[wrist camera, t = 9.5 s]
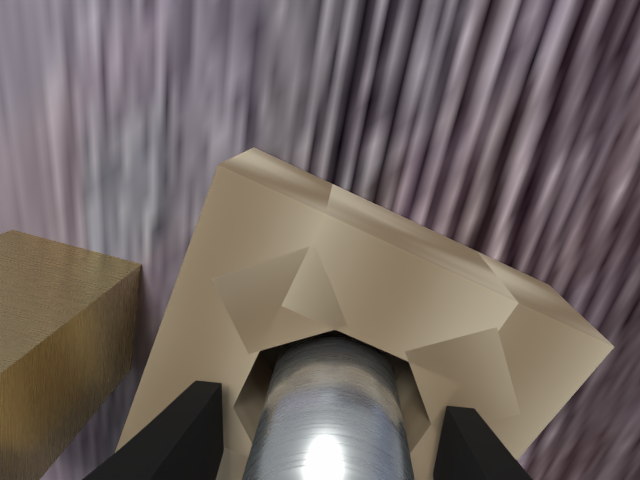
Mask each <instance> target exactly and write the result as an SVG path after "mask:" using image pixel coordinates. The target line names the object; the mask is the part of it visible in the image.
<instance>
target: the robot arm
mask: <svg viewBox="0 0 640 480" xmlns="http://www.w3.org/2000/svg"><path fill="white" fill-rule="evenodd" d="M223 452H224V442H223V410H222V383H217V382H207V381H197V380H196V381H195V382H193V383H192V384H191V385H190V386H189V387H188V388H187V389H185V390H184V391H183V392H182V393H181V394H180V395H179V396H178V397H177V398H176V399H175V400H174V401H173V402H171V403H170V404H169V405H168V406H167V407H166V408H165V409H164V410H163V411H162V412H161V413H160V414H158V415H157V416H156V417H155V418H154V419H153V420H152V421H151V422H150V423H149V424H148V425H146V426H145V427H144V428H143V429H142V430H141V431H140V432H138V433H137V434H136V435H135V436H134V437H133V438H132V439H130V440H129V441H128V442H127V443H126V444H125V445H124V446H122V447H121V448H120V449H119V450H118V451H117V452H116V453H114V454H113V455H112V456H111V457H110V458H108V459H107V460H106V461H105V462H103V463H102V464H101V465H100V466H98V467H97V468H96V469H95V470H94V471H92V472H91V473H90V474H89V475H87V476H86V477H85V478H84V479H82V480H216V477H217V473H218V470H219V466H220V463H221V459H222V456H223ZM433 480H532V478H531V477H530V476H529V475H528V474H527V473H526V471H525V470H524V469H523V468H522V467H521V465H520V464H519V463H518V462H517V460H516V459H515V458H514V457H513V456H512V454H511V453H510V452H509V451H508V449H507V448H506V447H505V446H504V444H503V443H502V442H501V441H500V439H499V438H498V437H497V436H496V434H495V433H494V432H493V431H492V429H491V428H490V427H489V426H488V425H487V423H486V422H485V421H484V420H483V418H482V417H481V416H480V415H479V413H478V412H477V411H476V410H475V409H474V408H466V407H456V406H446V411H445V416H444V421H443V426H442V431H441V436H440V441H439V446H438V451H437V456H436V461H435V466H434V471H433Z"/></svg>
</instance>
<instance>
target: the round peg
mask: <svg viewBox="0 0 640 480" xmlns="http://www.w3.org/2000/svg"><path fill="white" fill-rule="evenodd" d="M242 480H415V478H414V473H413V467H412V462H411V457H410V452H409V446H408V441H407V436H406V430H405V425H404V420H403V414H402V409H401V404H400V398H399V393H398V388H397V382H396V377H395V372H394V366H393V361H392V356H391V354H390V353H388V352H385V351H383V350H381V349H378V348H376V347H374V346H372V345H369V344H367V343H365V342H362V341H360V340H358V339H356V338H353V337H351V336H349V335H346V334H344V333H342V332H340V331H337V330H332V331H328V332H325V333H321V334H318V335H314V336H311V337H307V338H304V339H300V340H297V341H293V342H290V343H286V344H283V345H281V347H280V351H279V354H278V358H277V361H276V364H275V368H274V371H273V375H272V378H271V381H270V385H269V388H268V392H267V395H266V398H265V402H264V405H263V409H262V412H261V416H260V419H259V422H258V426H257V429H256V433H255V436H254V439H253V443H252V446H251V450H250V453H249V457H248V460H247V463H246V467H245V470H244V474H243V477H242Z"/></svg>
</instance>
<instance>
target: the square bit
mask: <svg viewBox="0 0 640 480" xmlns="http://www.w3.org/2000/svg"><path fill="white" fill-rule="evenodd" d="M141 266H142V264H139V263H135V262H131V261H128V260H124V259H120V258H116V257H113V256H109V255H105V254H101V253H98V252H94V251H90V250H86V249H83V248H79V247H75V246H71V245H68V244H64V243H60V242H56V241H53V240H49V239H45V238H41V237H37V236H34V235H30V234H26V233H22V232H19V231H15V230H11V231H8V232H6V233H3V234H0V480H40V478H41V477H42V476H43V475H44V474H45V472H46V471H47V470H48V469H49V468H50V466H51V465H52V464H53V463H54V462H55V460H56V459H57V458H58V457H59V456H60V454H61V453H62V452H63V451H64V449H65V448H66V447H67V446H68V445H69V443H70V442H71V441H72V440H73V439H74V437H75V436H76V435H77V434H78V433H79V431H80V430H81V429H82V428H83V426H84V425H85V424H86V423H87V422H88V420H89V419H90V418H91V417H92V416H93V414H94V413H95V412H96V411H97V410H98V408H99V407H100V406H101V405H102V404H103V402H104V401H105V400H106V399H107V397H108V396H109V395H110V394H111V393H112V391H113V390H114V389H115V388H116V387H117V385H118V384H119V383H120V382H121V381H122V379H123V378H124V377H125V376H126V375H127V373H128V372H129V371H130V367H131V358H132V348H133V339H134V330H135V321H136V312H137V303H138V293H139V284H140V275H141Z"/></svg>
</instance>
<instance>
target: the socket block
mask: <svg viewBox="0 0 640 480" xmlns="http://www.w3.org/2000/svg"><path fill="white" fill-rule="evenodd" d="M332 330H337V331H340V332H342V333H344V334H346V335H349V336H351V337H353V338H356V339H358V340H360V341H362V342H365V343H367V344H369V345H372V346H374V347H376V348H378V349H381V350H383V351H385V352H388V353H390V354H391V356H392V361H393V366H394V372H395V377H396V382H397V388H398V393H399V398H400V404H401V409H402V414H403V420H404V425H405V430H406V436H407V441H408V446H409V452H410V457H411V462H412V467H413V473H414V478H415V480H433V471H434V466H435V461H436V456H437V451H438V446H439V441H440V436H441V431H442V426H443V421H444V416H445V411H446V406H456V407H466V408H474V409H475V410H476V411H477V412H478V413H479V415H480V416H481V417H482V418H483V420H484V421H485V422H486V423H487V425H488V426H489V427H490V428H491V429H492V431H493V432H494V433H495V434H496V436H497V437H498V438H499V439H500V441H501V442H502V443H503V444H504V446H505V447H506V448H507V449H508V451H509V452H510V453H511V454H512V456H513V457H514V458H515V459H516V460H518V459H519V457H520V456H521V455H522V454H523V453H524V452H525V450H526V449H527V448H528V447H529V446H530V445H531V443H532V442H533V441H534V440H535V439H536V438H537V436H538V435H539V434H540V433H541V432H542V431H543V429H544V428H545V427H546V426H547V425H548V424H549V422H550V421H551V420H552V419H553V418H554V417H555V415H556V414H557V413H558V412H559V411H560V410H561V408H562V407H563V406H564V405H565V404H566V403H567V401H568V400H569V399H570V398H571V397H572V396H573V394H574V393H575V392H576V391H577V390H578V389H579V388H580V386H581V385H582V384H583V383H584V382H585V381H586V379H587V378H588V377H589V376H590V375H591V374H592V372H593V371H594V370H595V369H596V368H597V367H598V365H599V364H600V363H601V362H602V361H603V360H604V358H605V357H606V356H607V355H608V354H609V353H610V351H611V350H612V349H613V348H614V346H613V345H612V344H611V343H610V342H609V341H608V340H607V339H606V338H604V337H603V336H602V335H601V334H600V333H599V332H598V331H597V330H596V329H595V328H594V327H593V326H592V325H591V324H590V323H589V322H588V321H586V320H585V319H584V318H583V317H582V316H581V315H580V314H579V313H578V312H577V311H576V310H575V309H574V308H573V307H572V306H571V305H570V304H569V303H567V302H566V301H565V300H564V299H563V298H562V297H561V296H560V295H559V294H558V293H557V292H556V291H555V290H554V289H553V288H552V287H551V286H549V285H548V284H546V283H544V282H542V281H539V280H537V279H535V278H533V277H531V276H529V275H526V274H524V273H522V272H520V271H518V270H516V269H514V268H511V267H509V266H507V265H505V264H503V263H501V262H499V261H496V260H494V259H492V258H490V257H488V256H486V255H484V254H481V253H479V252H477V251H475V250H473V249H471V248H469V247H466V246H464V245H462V244H460V243H458V242H456V241H454V240H451V239H449V238H447V237H445V236H443V235H441V234H439V233H436V232H434V231H432V230H430V229H428V228H426V227H424V226H421V225H419V224H417V223H415V222H413V221H411V220H409V219H406V218H404V217H402V216H400V215H398V214H396V213H394V212H391V211H389V210H387V209H385V208H383V207H381V206H379V205H376V204H374V203H372V202H370V201H368V200H366V199H364V198H361V197H359V196H357V195H355V194H353V193H351V192H349V191H346V190H344V189H342V188H340V187H338V186H336V185H334V184H331V183H329V182H327V181H325V180H323V179H321V178H318V177H316V176H314V175H312V174H310V173H308V172H306V171H303V170H301V169H299V168H297V167H295V166H293V165H291V164H288V163H286V162H284V161H282V160H280V159H278V158H276V157H273V156H271V155H269V154H267V153H265V152H263V151H261V150H258V149H256V148H252V149H250V150H247V151H245V152H243V153H241V154H239V155H237V156H235V157H233V158H231V159H229V160H227V161H224V162H222V163H220V164H218V166H217V169H216V172H215V175H214V177H213V180H212V183H211V186H210V188H209V191H208V194H207V197H206V200H205V202H204V205H203V208H202V211H201V214H200V216H199V219H198V222H197V225H196V227H195V230H194V233H193V236H192V239H191V241H190V244H189V247H188V250H187V253H186V255H185V258H184V261H183V264H182V266H181V269H180V272H179V275H178V278H177V280H176V283H175V286H174V289H173V292H172V294H171V297H170V300H169V303H168V305H167V308H166V311H165V314H164V317H163V319H162V322H161V325H160V328H159V331H158V333H157V336H156V339H155V342H154V344H153V347H152V350H151V353H150V356H149V358H148V361H147V364H146V367H145V370H144V372H143V375H142V378H141V381H140V383H139V386H138V389H137V392H136V395H135V397H134V400H133V403H132V406H131V409H130V411H129V414H128V417H127V420H126V422H125V425H124V428H123V431H122V434H121V436H120V439H119V442H118V445H117V448H116V450H115V453H116V452H117V451H118V450H119V449H120V448H121V447H122V446H124V445H125V444H126V443H127V442H128V441H129V440H130V439H132V438H133V437H134V436H135V435H136V434H137V433H138V432H140V431H141V430H142V429H143V428H144V427H145V426H146V425H148V424H149V423H150V422H151V421H152V420H153V419H154V418H155V417H156V416H157V415H158V414H160V413H161V412H162V411H163V410H164V409H165V408H166V407H167V406H168V405H169V404H170V403H171V402H173V401H174V400H175V399H176V398H177V397H178V396H179V395H180V394H181V393H182V392H183V391H184V390H185V389H187V388H188V387H189V386H190V385H191V384H192V383H193V382H195V381H196V380H197V381H207V382H217V383H222V410H223V442H224V452H223V456H222V459H221V463H220V466H219V470H218V473H217V477H216V480H242V477H243V474H244V470H245V467H246V463H247V460H248V457H249V453H250V450H251V446H252V443H253V439H254V436H255V433H256V429H257V426H258V422H259V419H260V416H261V412H262V409H263V405H264V402H265V398H266V395H267V392H268V388H269V385H270V381H271V378H272V375H273V371H274V368H275V364H276V361H277V358H278V354H279V351H280V347H281V345H283V344H286V343H290V342H293V341H297V340H300V339H304V338H307V337H311V336H314V335H318V334H321V333H325V332H328V331H332Z"/></svg>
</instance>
